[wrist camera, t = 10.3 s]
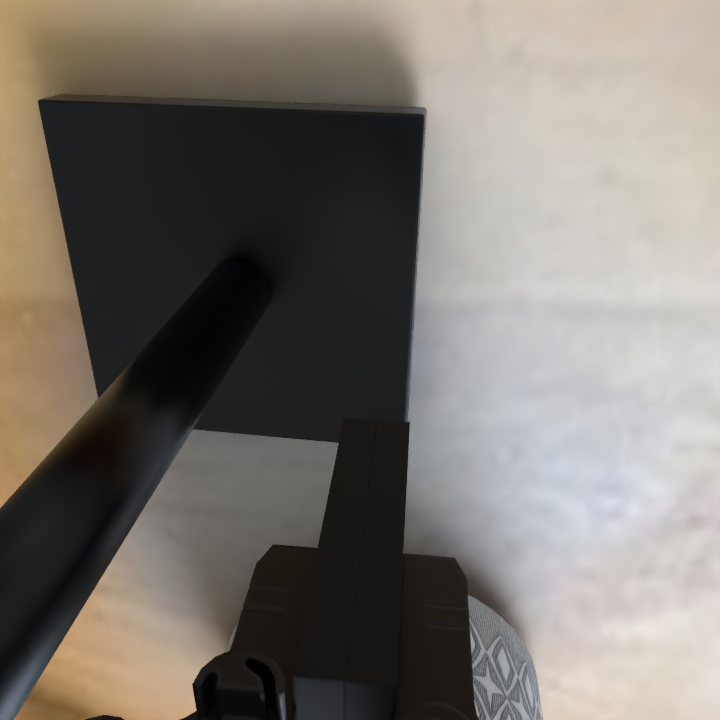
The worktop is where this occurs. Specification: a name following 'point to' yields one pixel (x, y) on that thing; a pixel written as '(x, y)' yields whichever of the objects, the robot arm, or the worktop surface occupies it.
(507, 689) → the planter
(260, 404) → the black holder
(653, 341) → the worktop surface
